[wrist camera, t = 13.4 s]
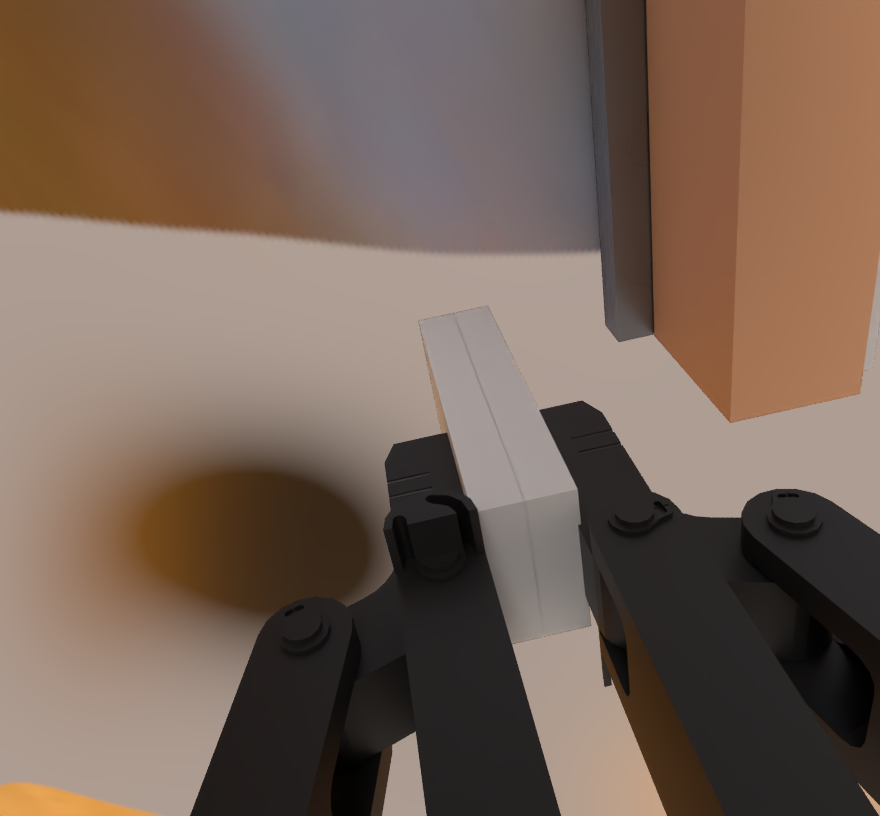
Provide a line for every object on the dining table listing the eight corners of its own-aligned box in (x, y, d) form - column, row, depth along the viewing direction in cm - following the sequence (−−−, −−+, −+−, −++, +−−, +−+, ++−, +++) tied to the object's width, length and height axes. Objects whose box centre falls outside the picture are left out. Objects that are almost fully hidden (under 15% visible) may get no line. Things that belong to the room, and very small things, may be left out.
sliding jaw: (654, 335, 28) (730, 422, 23) (645, -43, 22) (746, -39, 16) (776, 308, 28) (879, 389, 23) (803, -75, 22) (952, -81, 17)
